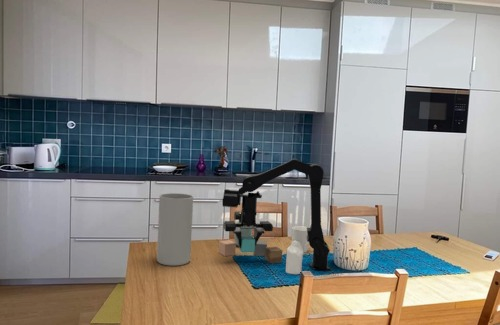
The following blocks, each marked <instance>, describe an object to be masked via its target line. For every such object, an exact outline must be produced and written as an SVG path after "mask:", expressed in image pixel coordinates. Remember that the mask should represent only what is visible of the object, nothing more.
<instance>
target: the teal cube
mask: <svg viewBox="0 0 500 325" xmlns="http://www.w3.org/2000/svg"><path fill="white" fill-rule="evenodd" d="M238 250H240V252H241V253H245V254H246V253H254V251H255V239H254V236H253V235H252V236H241V248H240V247H239V246H238Z"/></svg>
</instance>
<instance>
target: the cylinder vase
mask: <svg viewBox="0 0 500 325" xmlns="http://www.w3.org/2000/svg"><path fill="white" fill-rule="evenodd" d="M158 196H159V199H158V223H157V224H158V227H157V246H156V247H157V249H156V253H157V254H156V261H157V262H158V263H159V264H161V265H164V266H170V267H171V266H173V267H175V266H176V267H177V266H178V267H179V266H183V265H186V264H188V263H189V262H190V261H191V254H192V253H191V252H192V251H191V250H192V231H193V230H192V229H193V211H194V209H193V208H194V206H193V205H194V196H193V195H192V194H187V193H175V192H174V193H171V192H170V193H163V194H160V195H158Z"/></svg>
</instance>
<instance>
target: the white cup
mask: <svg viewBox="0 0 500 325" xmlns="http://www.w3.org/2000/svg"><path fill="white" fill-rule="evenodd" d="M307 228H309V227H307V226H301V225H299V226H298V225H296V226H292V227H291V243H292V242H293V241H297V242H299V243H300V245H301V247H302V249H303V254H304V253H308V249H309V245H310V244H309V242H307Z"/></svg>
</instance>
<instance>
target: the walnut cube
mask: <svg viewBox="0 0 500 325" xmlns="http://www.w3.org/2000/svg"><path fill="white" fill-rule="evenodd" d="M264 261H266V262H268V263H269V264H278V263H282V262H283V250H282V249H281V248H280V247H278V246H267V247H266V249H265V256H264Z"/></svg>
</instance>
